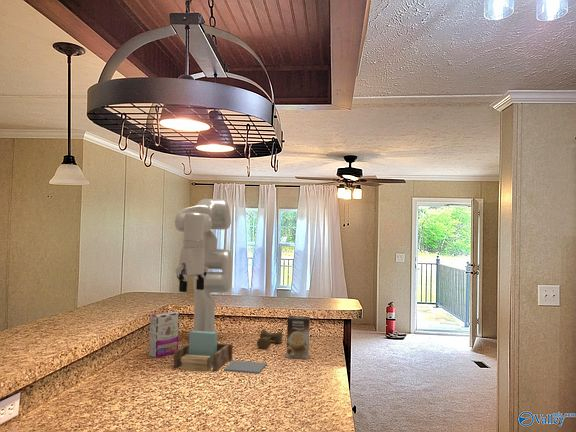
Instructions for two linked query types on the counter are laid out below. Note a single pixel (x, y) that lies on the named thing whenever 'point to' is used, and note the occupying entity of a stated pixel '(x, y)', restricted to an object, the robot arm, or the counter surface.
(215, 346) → the pale teal block
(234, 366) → the slate mat
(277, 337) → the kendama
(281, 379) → the counter surface
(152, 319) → the candy bar box
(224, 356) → the frame
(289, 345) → the coffee box
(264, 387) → the counter surface
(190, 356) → the offcut stack
